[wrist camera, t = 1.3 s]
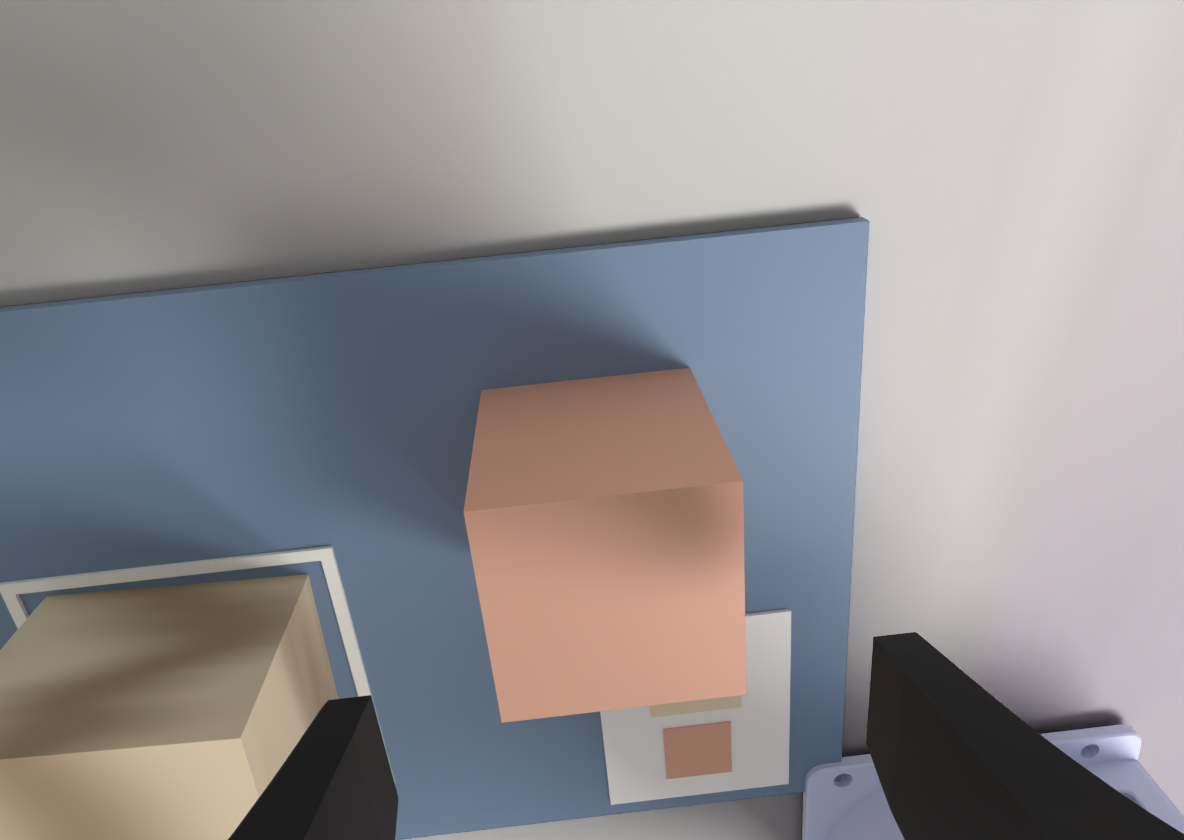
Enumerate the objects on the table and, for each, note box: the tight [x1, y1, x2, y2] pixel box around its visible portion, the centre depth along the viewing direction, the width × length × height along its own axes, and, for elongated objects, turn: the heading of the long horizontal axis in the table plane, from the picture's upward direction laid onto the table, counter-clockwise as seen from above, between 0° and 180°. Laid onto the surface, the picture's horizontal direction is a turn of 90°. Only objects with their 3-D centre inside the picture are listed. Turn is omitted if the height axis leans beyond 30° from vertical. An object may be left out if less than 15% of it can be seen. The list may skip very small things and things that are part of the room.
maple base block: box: [0, 574, 338, 840], centre depth 18 cm, size 6×6×5 cm
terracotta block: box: [464, 368, 746, 723], centre depth 17 cm, size 4×4×5 cm
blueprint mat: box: [0, 217, 869, 840], centre depth 20 cm, size 24×16×1 cm, turn 95°
